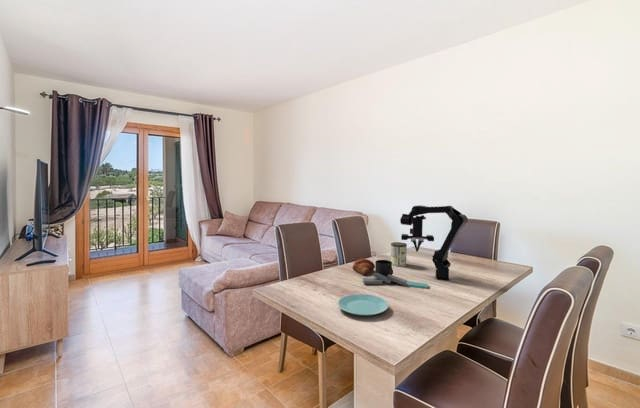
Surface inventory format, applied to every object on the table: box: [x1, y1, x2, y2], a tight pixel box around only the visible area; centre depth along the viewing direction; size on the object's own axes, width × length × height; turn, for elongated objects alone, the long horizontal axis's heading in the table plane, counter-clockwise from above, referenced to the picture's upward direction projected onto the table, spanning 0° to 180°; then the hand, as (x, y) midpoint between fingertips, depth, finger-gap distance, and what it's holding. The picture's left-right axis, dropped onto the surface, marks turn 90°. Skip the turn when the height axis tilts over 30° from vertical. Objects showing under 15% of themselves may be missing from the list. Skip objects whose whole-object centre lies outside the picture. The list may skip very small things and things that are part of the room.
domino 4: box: [407, 281, 429, 290], centre depth 164 cm, size 2×5×10 cm
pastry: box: [352, 258, 376, 277], centre depth 192 cm, size 17×15×8 cm
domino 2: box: [372, 272, 394, 285], centre depth 169 cm, size 2×5×10 cm
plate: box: [337, 293, 390, 317], centre depth 135 cm, size 22×22×3 cm
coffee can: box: [390, 241, 408, 267], centre depth 206 cm, size 10×10×14 cm
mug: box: [374, 259, 394, 277], centre depth 178 cm, size 9×12×9 cm
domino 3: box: [387, 274, 408, 286], centre depth 168 cm, size 2×5×10 cm
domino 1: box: [362, 277, 383, 285], centre depth 168 cm, size 2×5×10 cm
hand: (417, 251), depth 187 cm, fingers closed
